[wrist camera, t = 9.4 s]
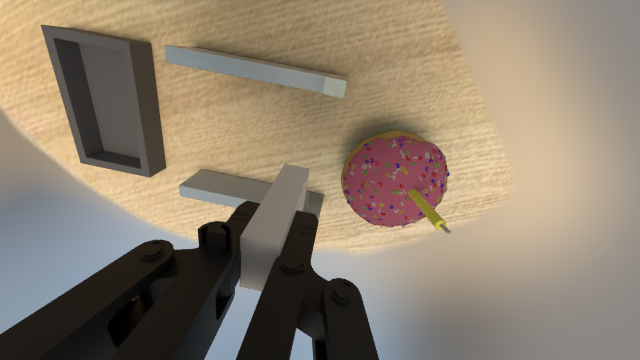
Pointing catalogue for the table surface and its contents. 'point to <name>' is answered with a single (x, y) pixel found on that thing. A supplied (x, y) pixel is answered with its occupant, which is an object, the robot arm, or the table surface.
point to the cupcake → (396, 180)
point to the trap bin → (108, 99)
